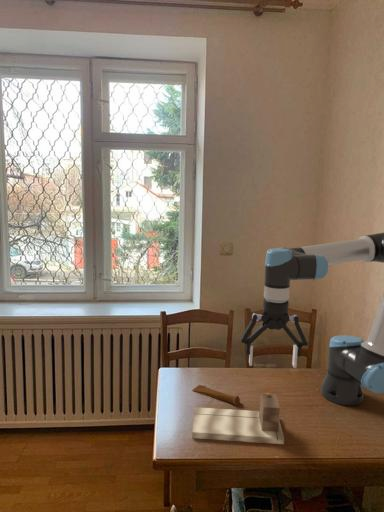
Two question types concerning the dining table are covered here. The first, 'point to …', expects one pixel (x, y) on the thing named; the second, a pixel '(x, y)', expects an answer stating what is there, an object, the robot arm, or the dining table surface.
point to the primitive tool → (217, 394)
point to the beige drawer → (269, 412)
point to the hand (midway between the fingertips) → (272, 365)
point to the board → (232, 426)
